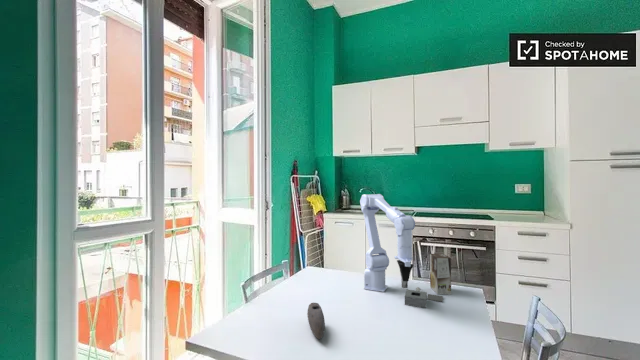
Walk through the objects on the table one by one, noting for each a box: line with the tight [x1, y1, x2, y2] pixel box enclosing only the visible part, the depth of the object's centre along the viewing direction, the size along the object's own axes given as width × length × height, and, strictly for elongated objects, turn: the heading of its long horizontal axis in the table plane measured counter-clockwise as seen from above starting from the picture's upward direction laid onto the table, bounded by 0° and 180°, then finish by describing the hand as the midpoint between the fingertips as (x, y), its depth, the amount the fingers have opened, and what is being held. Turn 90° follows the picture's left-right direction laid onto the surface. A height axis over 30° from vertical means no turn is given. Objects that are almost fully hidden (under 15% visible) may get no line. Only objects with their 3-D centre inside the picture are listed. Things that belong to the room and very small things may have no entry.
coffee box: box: [429, 252, 452, 295], centre depth 130 cm, size 9×6×16 cm
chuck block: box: [404, 286, 428, 309], centre depth 120 cm, size 8×15×4 cm, turn 156°
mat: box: [427, 293, 444, 303], centre depth 121 cm, size 6×6×1 cm
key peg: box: [400, 273, 409, 289], centre depth 116 cm, size 2×2×8 cm
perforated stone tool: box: [306, 302, 326, 340], centre depth 95 cm, size 15×5×7 cm, turn 7°
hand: (404, 279), depth 116 cm, fingers closed on key peg, 2 cm apart
